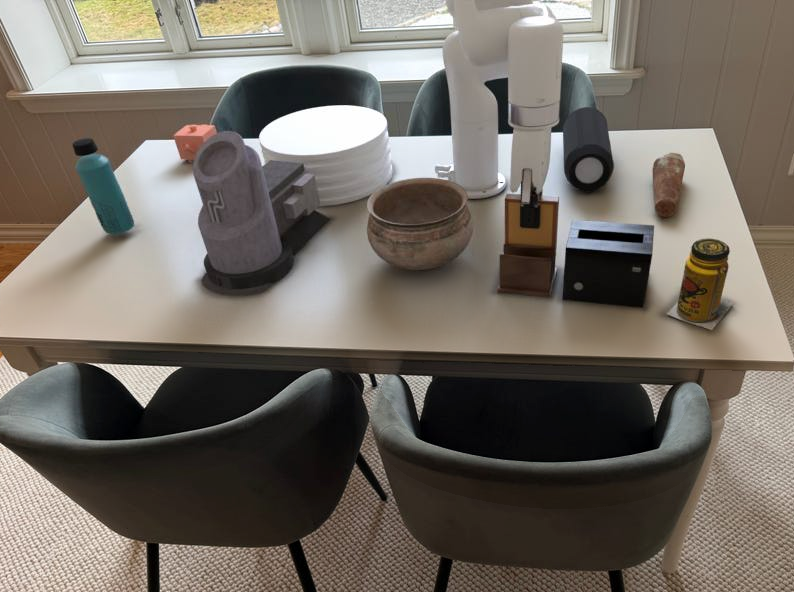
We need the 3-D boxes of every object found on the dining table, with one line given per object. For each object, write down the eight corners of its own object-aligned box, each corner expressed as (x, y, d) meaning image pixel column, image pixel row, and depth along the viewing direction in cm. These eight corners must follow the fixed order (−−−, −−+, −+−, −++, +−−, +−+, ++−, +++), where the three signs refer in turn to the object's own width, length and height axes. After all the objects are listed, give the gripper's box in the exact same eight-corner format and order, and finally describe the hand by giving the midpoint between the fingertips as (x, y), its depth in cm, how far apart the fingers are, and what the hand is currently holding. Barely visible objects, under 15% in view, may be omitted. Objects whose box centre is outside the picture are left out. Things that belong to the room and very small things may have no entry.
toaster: (561, 303, 110) (564, 250, 103) (568, 270, 117) (572, 219, 111) (643, 311, 107) (652, 257, 100) (645, 277, 114) (654, 225, 107)
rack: (497, 292, 114) (496, 256, 109) (506, 266, 120) (506, 231, 115) (550, 297, 111) (552, 261, 107) (557, 270, 117) (559, 235, 113)
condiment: (665, 315, 105) (678, 249, 98) (688, 290, 110) (702, 225, 102) (711, 331, 102) (728, 264, 94) (733, 304, 106) (750, 238, 99)
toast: (504, 257, 114) (504, 198, 107) (506, 252, 116) (506, 193, 109) (554, 261, 112) (557, 201, 105) (556, 256, 113) (559, 196, 106)
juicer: (260, 302, 116) (221, 169, 101) (185, 288, 122) (138, 160, 106) (339, 220, 137) (317, 99, 121) (273, 211, 142) (244, 94, 127)
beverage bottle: (144, 228, 141) (108, 135, 128) (121, 243, 136) (81, 149, 123) (121, 223, 143) (83, 132, 130) (98, 238, 139) (56, 145, 126)
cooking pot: (453, 305, 112) (450, 241, 104) (349, 292, 117) (338, 230, 109) (488, 231, 129) (487, 172, 122) (397, 223, 135) (390, 165, 127)
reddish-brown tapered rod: (682, 177, 141) (687, 152, 137) (677, 221, 127) (682, 194, 124) (651, 175, 142) (655, 150, 139) (643, 218, 129) (647, 191, 125)
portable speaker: (612, 196, 137) (617, 149, 130) (562, 196, 138) (565, 150, 132) (604, 145, 156) (608, 102, 149) (561, 146, 157) (563, 103, 151)
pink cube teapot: (175, 168, 164) (164, 135, 158) (198, 148, 172) (188, 117, 167) (204, 169, 162) (194, 136, 157) (226, 149, 171) (217, 117, 165)
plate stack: (416, 163, 156) (411, 114, 148) (342, 216, 138) (332, 164, 131) (323, 145, 168) (315, 99, 161) (245, 191, 151) (231, 142, 143)
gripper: (518, 92, 105) (517, 200, 117) (497, 131, 93) (499, 246, 105) (566, 93, 103) (560, 203, 115) (551, 132, 91) (546, 250, 103)
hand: (531, 222), depth 110 cm, fingers closed on toast, 1 cm apart
